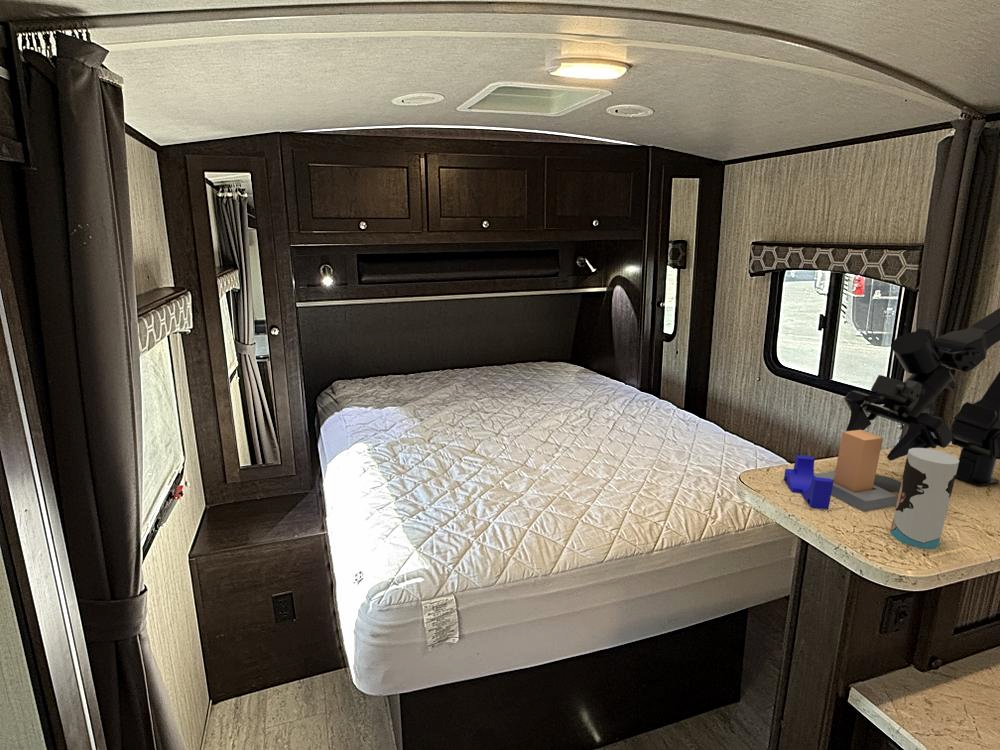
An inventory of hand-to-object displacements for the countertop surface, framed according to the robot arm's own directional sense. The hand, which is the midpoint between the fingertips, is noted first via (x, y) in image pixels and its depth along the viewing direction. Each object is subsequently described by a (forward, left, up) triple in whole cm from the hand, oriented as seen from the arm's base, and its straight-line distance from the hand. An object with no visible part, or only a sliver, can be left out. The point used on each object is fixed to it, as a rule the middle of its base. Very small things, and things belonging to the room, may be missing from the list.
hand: (865, 449), depth 114 cm
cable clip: (+10, -3, -10) cm, 14 cm away
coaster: (-9, -2, -9) cm, 13 cm away
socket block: (+2, 0, -9) cm, 10 cm away
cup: (+6, +16, -10) cm, 19 cm away
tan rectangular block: (+2, 0, -9) cm, 9 cm away
